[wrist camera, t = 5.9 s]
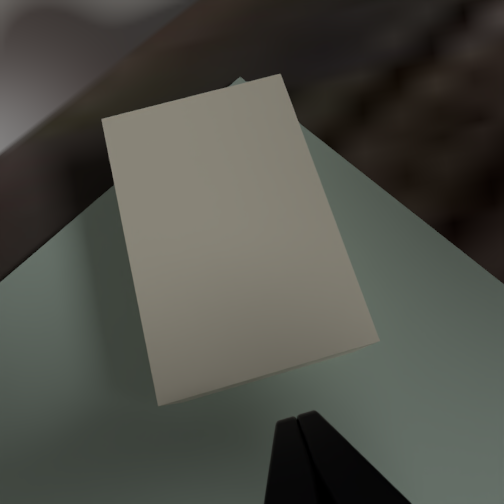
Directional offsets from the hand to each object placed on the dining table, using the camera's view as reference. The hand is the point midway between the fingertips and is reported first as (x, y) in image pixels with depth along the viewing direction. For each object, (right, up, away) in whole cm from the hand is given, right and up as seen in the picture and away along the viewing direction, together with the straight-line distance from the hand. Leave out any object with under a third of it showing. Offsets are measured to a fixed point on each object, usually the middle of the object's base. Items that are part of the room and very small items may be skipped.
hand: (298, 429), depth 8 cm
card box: (0, 0, +4) cm, 4 cm away
